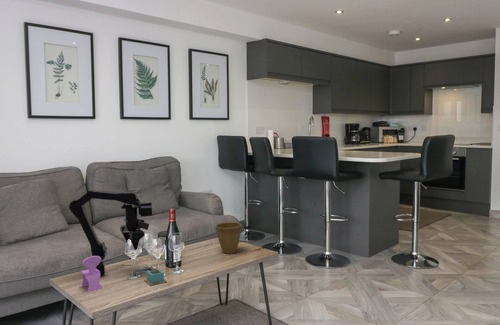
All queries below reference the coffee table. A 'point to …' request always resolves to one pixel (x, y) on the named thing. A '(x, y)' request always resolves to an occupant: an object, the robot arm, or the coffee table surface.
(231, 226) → the plant pot
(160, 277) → the teal socket block
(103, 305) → the coffee table surface
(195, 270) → the coffee table surface
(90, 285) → the toy chair
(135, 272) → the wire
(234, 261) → the coffee table surface
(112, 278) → the coffee table surface
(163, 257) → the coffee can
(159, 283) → the peg
